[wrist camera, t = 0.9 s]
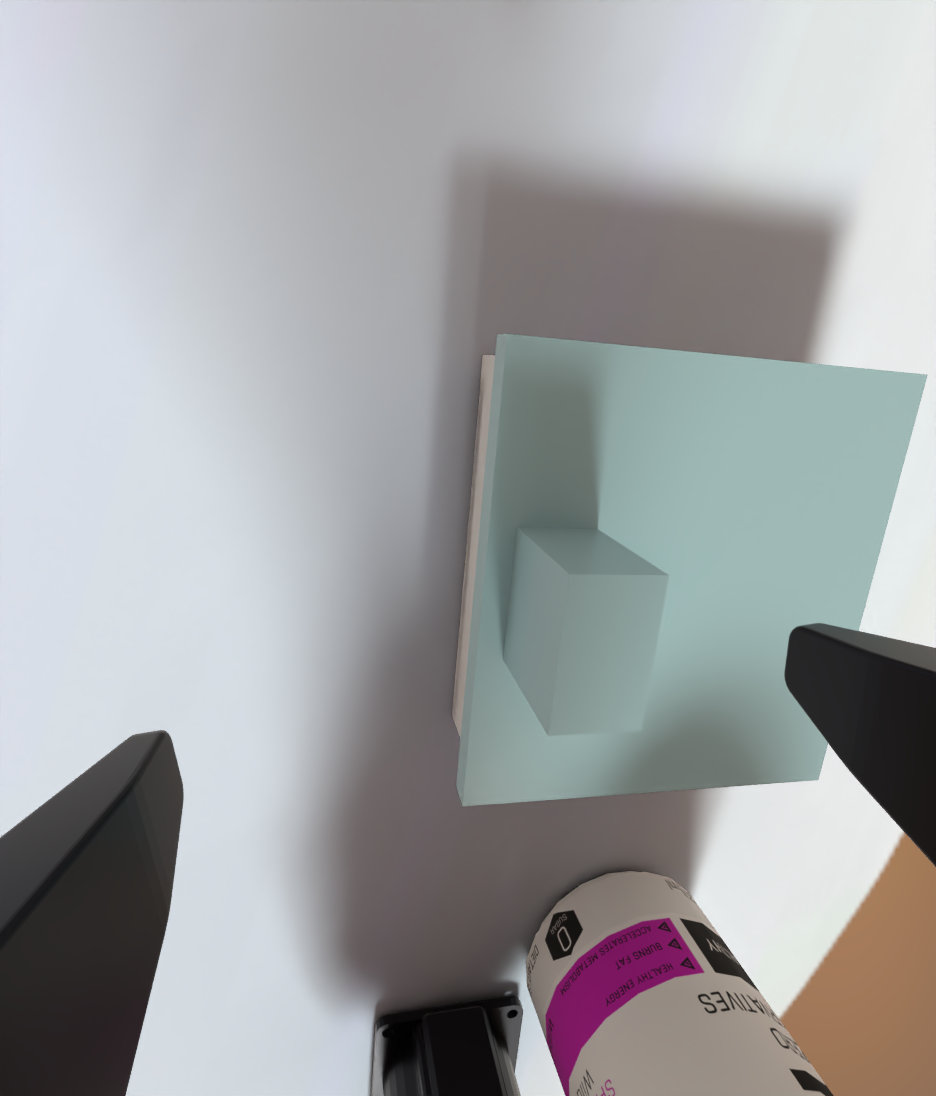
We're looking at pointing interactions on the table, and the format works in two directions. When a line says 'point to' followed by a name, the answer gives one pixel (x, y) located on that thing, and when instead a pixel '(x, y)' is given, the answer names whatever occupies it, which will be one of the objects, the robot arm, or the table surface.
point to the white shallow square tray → (473, 535)
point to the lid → (665, 562)
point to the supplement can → (654, 999)
